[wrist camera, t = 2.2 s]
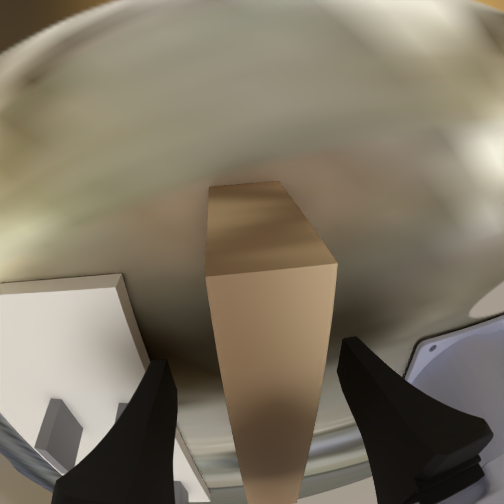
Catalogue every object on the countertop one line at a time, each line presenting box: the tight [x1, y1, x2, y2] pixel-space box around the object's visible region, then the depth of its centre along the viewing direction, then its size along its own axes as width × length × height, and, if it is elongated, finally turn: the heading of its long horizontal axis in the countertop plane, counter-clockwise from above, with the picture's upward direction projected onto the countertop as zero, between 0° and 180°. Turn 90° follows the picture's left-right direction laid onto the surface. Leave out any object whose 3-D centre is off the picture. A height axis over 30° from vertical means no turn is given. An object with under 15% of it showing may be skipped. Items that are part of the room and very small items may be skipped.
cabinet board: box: [0, 273, 210, 504], centre depth 15 cm, size 13×24×4 cm, turn 3°
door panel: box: [205, 181, 338, 504], centre depth 12 cm, size 2×14×6 cm, turn 3°
